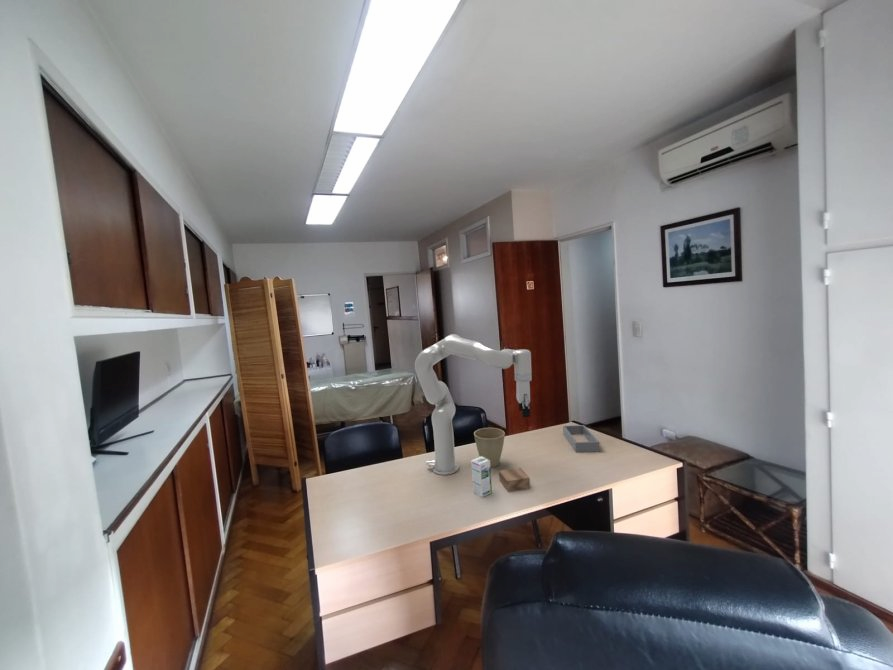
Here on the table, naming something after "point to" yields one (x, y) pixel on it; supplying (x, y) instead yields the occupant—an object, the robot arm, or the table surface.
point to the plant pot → (490, 444)
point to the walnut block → (514, 479)
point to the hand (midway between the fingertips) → (524, 413)
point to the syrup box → (481, 476)
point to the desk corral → (581, 446)
